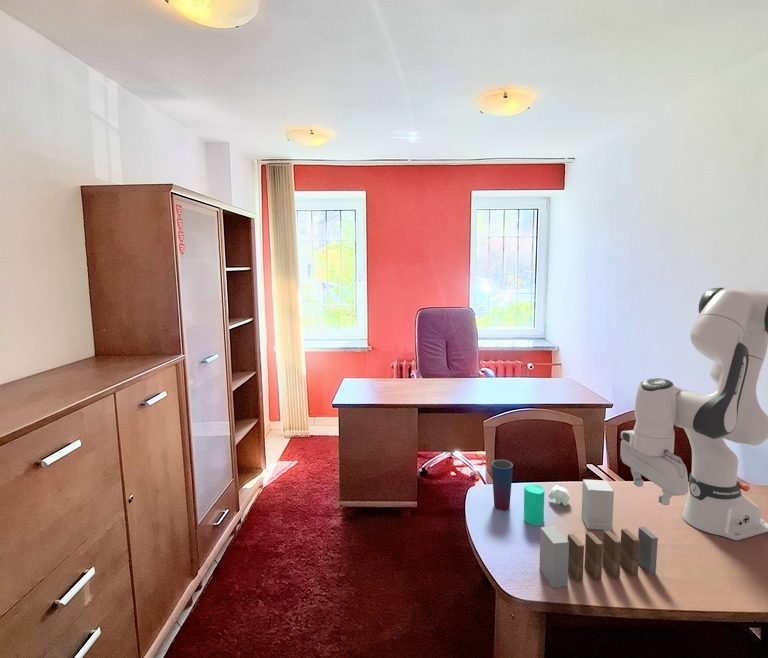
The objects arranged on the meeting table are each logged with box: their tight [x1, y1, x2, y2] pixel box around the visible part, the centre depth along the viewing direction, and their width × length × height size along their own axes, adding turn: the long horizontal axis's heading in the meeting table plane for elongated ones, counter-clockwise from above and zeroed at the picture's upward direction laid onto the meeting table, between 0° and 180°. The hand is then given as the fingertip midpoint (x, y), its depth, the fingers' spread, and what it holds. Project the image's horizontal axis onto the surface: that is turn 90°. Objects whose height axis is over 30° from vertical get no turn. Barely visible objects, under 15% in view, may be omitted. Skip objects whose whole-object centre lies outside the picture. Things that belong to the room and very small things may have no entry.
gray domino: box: [637, 526, 659, 575], centre depth 117 cm, size 2×5×10 cm, turn 7°
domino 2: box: [584, 531, 603, 581], centre depth 115 cm, size 2×5×10 cm, turn 6°
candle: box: [523, 483, 545, 526], centre depth 140 cm, size 6×6×12 cm
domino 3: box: [602, 530, 621, 579], centre depth 116 cm, size 2×5×10 cm, turn 6°
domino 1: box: [567, 533, 585, 583], centre depth 115 cm, size 2×5×10 cm, turn 6°
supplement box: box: [581, 479, 615, 531], centre depth 137 cm, size 7×7×13 cm
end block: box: [539, 525, 569, 589], centre depth 114 cm, size 4×7×12 cm, turn 6°
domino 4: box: [620, 528, 640, 577], centre depth 116 cm, size 2×5×10 cm, turn 6°
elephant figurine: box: [547, 482, 573, 507], centre depth 150 cm, size 7×8×6 cm
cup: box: [491, 459, 514, 511], centre depth 148 cm, size 7×7×15 cm
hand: (650, 494), depth 115 cm, fingers open, 8 cm apart
